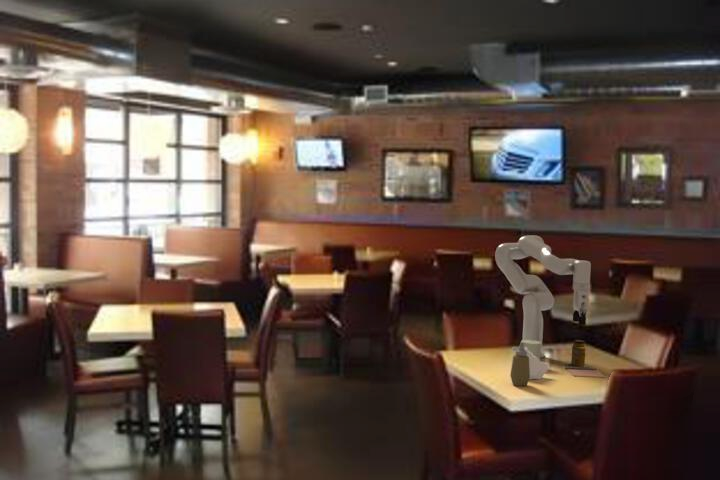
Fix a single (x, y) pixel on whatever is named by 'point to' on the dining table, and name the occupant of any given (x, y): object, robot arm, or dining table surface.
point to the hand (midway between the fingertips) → (579, 323)
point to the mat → (585, 373)
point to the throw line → (580, 368)
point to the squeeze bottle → (520, 367)
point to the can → (533, 347)
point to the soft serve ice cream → (535, 366)
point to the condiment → (578, 354)
